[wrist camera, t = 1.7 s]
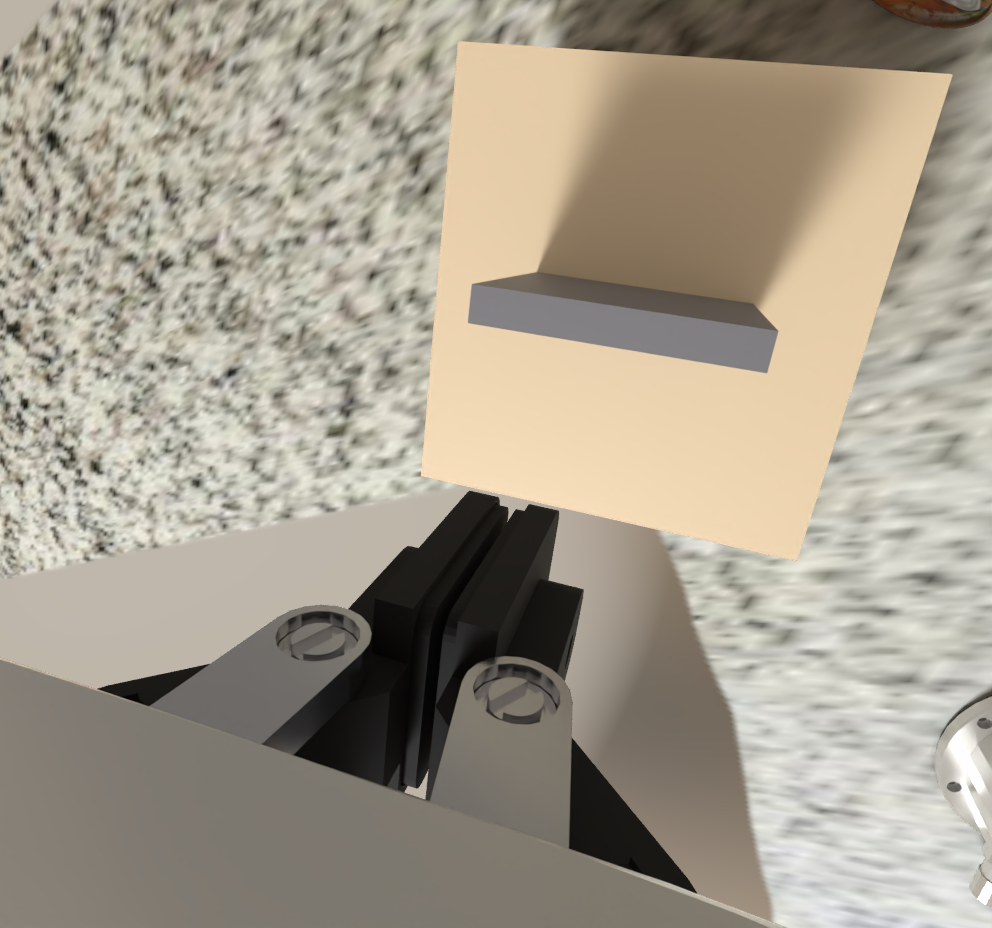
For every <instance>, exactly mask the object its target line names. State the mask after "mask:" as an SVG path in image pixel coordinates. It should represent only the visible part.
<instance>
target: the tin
mask: <svg viewBox="0 0 992 928" xmlns="http://www.w3.org/2000/svg"><path fill="white" fill-rule="evenodd" d="M873 1H875V2H876V3H878V4H879V5H881V6H882V7H884V8H885V9H887V10H889V11H891V12H892V13H894V14H896V15H898V16H900V17H903V18H905V19H908V20H910V21H913V22H916V23H919V24H922V25H926V26H930V27H936V28H962V27H967V26H971V25H974V24H976V23H979V22H980V21H982V20H983V19H985V18H986V17H987V16H988V15H989V14H990V13H991V12H992V0H873Z"/></svg>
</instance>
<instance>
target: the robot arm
mask: <svg viewBox="0 0 992 928" xmlns="http://www.w3.org/2000/svg"><path fill="white" fill-rule="evenodd" d="M558 520H559V511H557V510H553V509H549V508H544V507H539V506H535V505H531V504H529V505H528V506H527V508H526V510H525V511H521V510H517V509H516V510H515V511H514V513H513V514H512V516H511V518H510V519H509V521H508V507H504V506H500V500H499V498H498V497H495V496H491V495H486V494H482V493H477V492H473V491H469V492H468V493H467V494H466V495H465V496H464V497H463V498H462V499H461V500H460V502H459V503H458V504H457V505H456V506H455V507H454V508H453V510H452V511H451V512H450V513H449V514H448V515H447V517H445V519H444V520H443V521H442V522H441V523H440V524H439V526H438V527H437V528H436V529H435V530H434V531H433V533H432V534H431V535H430V536H429V537H428V538H427V539H426V541H425V542H424V543H423V544H422V545H421V546H420V547H419V548H415V547H411V546H407V547H406V548H404V549H403V550H402V551H401V552H400V553H399V555H398V556H397V557H396V558H395V559H394V560H393V561H392V562H391V563H390V564H389V565H388V566H387V568H386V569H385V570H384V571H383V572H382V573H381V574H380V575H379V576H378V577H377V578H376V579H375V580H374V582H373V583H372V584H371V585H370V586H369V587H368V588H367V589H366V590H365V591H364V593H363V594H362V595H361V596H360V597H359V598H358V599H357V600H356V601H355V602H354V603H353V604H352V605H351V607H350V608H349V609H345V608H341V607H338V606H328V605H315V606H306V607H302V608H298V609H295V610H291V611H289V612H287V613H285V614H283V615H281V616H279V617H277V618H276V619H275V620H273V621H272V622H270V623H269V624H267V625H266V626H264V627H263V628H261V629H260V630H259V631H257V632H256V633H254V634H253V635H251V636H250V637H249V638H247V639H246V640H244V641H243V642H241V643H240V644H238V645H237V646H236V647H234V648H233V649H231V650H230V651H228V652H227V653H225V654H224V655H223V656H221V657H220V658H218V659H217V660H215V661H214V662H212V663H211V664H207V665H203V666H198V667H193V668H189V669H184V670H179V671H174V672H170V673H165V674H160V675H156V676H151V677H146V678H141V679H137V680H132V681H127V682H122V683H118V684H113V685H108V686H105V687H102V688H98V689H95V688H92V687H89V686H85V685H82V684H79V683H76V682H73V681H70V680H67V679H64V678H61V677H58V676H55V675H52V674H49V673H46V672H43V671H40V670H37V669H34V668H31V667H28V666H25V665H21V664H19V663H16V662H13V661H10V660H7V659H3V658H1V657H0V928H786V927H784V926H781V925H778V924H776V923H773V922H770V921H768V920H765V919H762V918H759V917H757V916H754V915H751V914H749V913H746V912H744V911H741V910H738V909H736V908H733V907H731V906H728V905H725V904H722V903H720V902H717V901H715V900H712V899H709V898H707V897H704V896H701V895H699V894H697V892H696V891H695V889H694V888H693V886H692V884H691V883H690V881H689V880H688V878H687V877H686V876H685V875H684V874H683V872H682V871H681V870H680V869H679V867H678V866H677V865H676V864H675V863H674V861H673V860H672V859H671V858H670V857H669V855H668V854H667V853H666V852H665V850H664V849H663V848H662V847H661V846H660V845H659V843H658V842H657V841H656V839H655V838H654V837H653V836H652V835H651V833H650V832H649V831H648V830H647V829H646V827H645V826H644V825H643V824H642V822H641V821H640V820H639V819H638V818H637V816H636V815H635V814H634V813H633V812H632V810H631V809H630V808H629V807H628V805H627V804H626V803H625V802H624V801H623V799H622V798H621V797H620V796H619V794H618V793H617V792H616V791H615V790H614V788H613V787H612V786H611V785H610V784H609V782H608V781H607V780H606V779H605V778H604V776H603V775H602V774H601V773H600V771H599V770H598V769H597V768H596V766H595V765H594V764H593V763H592V762H591V760H590V759H589V758H588V757H587V756H586V754H585V753H584V752H583V751H582V749H581V748H580V747H579V746H578V745H577V743H576V742H575V741H574V740H573V739H572V703H573V702H572V697H571V693H570V689H569V688H568V686H567V685H566V683H565V677H566V674H567V670H568V665H569V662H570V658H571V653H572V649H573V645H574V640H575V635H576V630H577V625H578V619H579V615H580V609H581V605H582V599H583V592H584V590H583V589H580V588H576V587H572V586H568V585H564V584H560V583H556V582H552V581H548V579H549V573H550V567H551V562H552V556H553V549H554V544H555V538H556V532H557V526H558ZM507 521H508V522H507ZM934 768H935V773H936V777H937V781H938V784H939V786H940V788H941V790H942V793H943V795H944V797H945V799H946V801H947V802H948V804H949V805H950V807H951V808H952V810H953V811H954V812H955V813H956V814H957V815H958V816H959V817H960V818H961V819H962V820H963V821H964V822H965V823H966V824H968V825H969V826H970V827H972V828H973V829H975V830H976V831H978V832H979V833H981V834H982V836H983V838H984V840H985V843H984V845H983V847H982V852H983V855H984V857H985V859H984V861H983V863H982V864H980V865H979V867H978V869H977V871H976V873H975V874H974V876H973V878H972V880H971V882H970V885H969V887H970V890H971V892H972V893H973V895H974V896H975V897H976V898H977V899H978V900H980V901H981V902H982V903H984V904H985V905H987V906H990V907H992V696H991V697H989V698H986V699H984V700H982V701H980V702H978V703H976V704H974V705H972V706H971V707H969V708H968V709H966V710H965V711H963V712H962V713H960V714H959V715H958V716H957V717H956V718H955V719H954V720H953V721H952V722H951V723H950V724H949V725H948V726H947V728H946V729H945V731H944V733H943V734H942V736H941V738H940V739H939V742H938V745H937V748H936V752H935V764H934ZM428 769H429V772H428V782H427V791H426V800H425V799H422V798H419V797H416V796H413V795H410V794H407V793H404V792H405V790H406V788H407V786H411V787H414V788H419V786H420V785H421V783H422V781H423V779H424V777H425V775H426V773H427V771H428Z"/></svg>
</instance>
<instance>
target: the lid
mask: <svg viewBox="0 0 992 928" xmlns="http://www.w3.org/2000/svg"><path fill="white" fill-rule="evenodd" d="M952 76H953V74H943V73H928V72H913V71H898V70H883V69H867V68H852V67H837V66H822V65H807V64H792V63H777V62H762V61H747V60H732V59H717V58H702V57H687V56H672V55H657V54H642V53H627V52H612V51H597V50H582V49H566V48H551V47H536V46H521V45H506V44H491V43H476V42H461V41H458V49H457V60H456V72H455V84H454V95H453V107H452V119H451V131H450V142H449V154H448V166H447V177H446V189H445V201H444V212H443V224H442V236H441V248H440V259H439V271H438V283H437V294H436V306H435V318H434V330H433V341H432V353H431V365H430V376H429V388H428V400H427V412H426V423H425V435H424V447H423V458H422V470H421V476H424V477H428V478H433V479H437V480H441V481H446V482H450V483H455V484H459V485H463V486H468V487H472V488H477V489H481V490H486V491H490V492H494V493H499V494H503V495H508V496H512V497H517V498H521V499H525V500H530V501H534V502H538V503H543V504H547V505H552V506H556V507H561V508H565V509H569V510H574V511H578V512H583V513H587V514H591V515H596V516H600V517H605V518H609V519H614V520H618V521H622V522H627V523H631V524H635V525H640V526H644V527H649V528H653V529H657V530H662V531H666V532H671V533H675V534H680V535H684V536H688V537H693V538H697V539H702V540H706V541H710V542H715V543H719V544H724V545H728V546H732V547H737V548H741V549H746V550H750V551H755V552H759V553H763V554H768V555H772V556H777V557H781V558H785V559H790V560H794V561H797V559H798V556H799V553H800V550H801V546H802V543H803V540H804V537H805V534H806V531H807V528H808V525H809V521H810V518H811V515H812V512H813V509H814V506H815V503H816V500H817V497H818V493H819V490H820V487H821V484H822V481H823V478H824V475H825V472H826V468H827V465H828V462H829V459H830V456H831V453H832V450H833V447H834V443H835V440H836V437H837V434H838V431H839V428H840V425H841V422H842V419H843V415H844V412H845V409H846V406H847V403H848V400H849V397H850V394H851V390H852V387H853V384H854V381H855V378H856V375H857V372H858V369H859V366H860V362H861V359H862V356H863V353H864V350H865V347H866V344H867V341H868V337H869V334H870V331H871V328H872V325H873V322H874V319H875V316H876V313H877V309H878V306H879V303H880V300H881V297H882V294H883V291H884V288H885V284H886V281H887V278H888V275H889V272H890V269H891V266H892V263H893V260H894V256H895V253H896V250H897V247H898V244H899V241H900V238H901V235H902V231H903V228H904V225H905V222H906V219H907V216H908V213H909V210H910V207H911V203H912V200H913V197H914V194H915V191H916V188H917V185H918V182H919V178H920V175H921V172H922V169H923V166H924V163H925V160H926V157H927V154H928V150H929V147H930V144H931V141H932V138H933V135H934V132H935V129H936V125H937V122H938V119H939V116H940V113H941V110H942V107H943V104H944V100H945V97H946V94H947V91H948V88H949V85H950V82H951V79H952Z"/></svg>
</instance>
